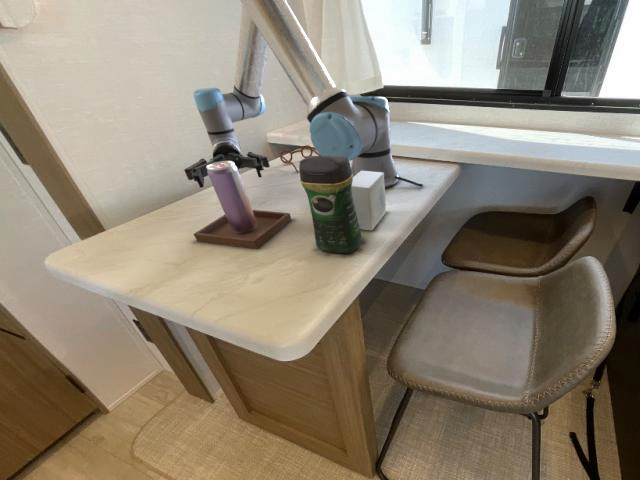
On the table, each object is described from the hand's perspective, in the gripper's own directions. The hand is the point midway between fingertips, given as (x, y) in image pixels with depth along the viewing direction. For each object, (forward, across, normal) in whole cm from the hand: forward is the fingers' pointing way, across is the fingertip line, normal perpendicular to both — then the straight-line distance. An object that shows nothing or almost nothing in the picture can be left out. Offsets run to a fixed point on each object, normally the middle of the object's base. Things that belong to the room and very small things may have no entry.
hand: (229, 176), depth 77 cm
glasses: (-38, -24, -10) cm, 46 cm away
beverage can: (+9, 0, -10) cm, 14 cm away
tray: (+9, 0, -10) cm, 14 cm away
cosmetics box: (+19, -28, -10) cm, 36 cm away
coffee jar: (+28, -18, -10) cm, 35 cm away
